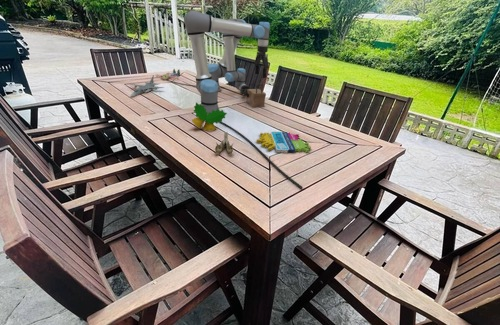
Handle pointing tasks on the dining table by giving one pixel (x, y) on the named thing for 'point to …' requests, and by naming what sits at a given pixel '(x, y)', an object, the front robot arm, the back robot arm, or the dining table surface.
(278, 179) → the dining table surface
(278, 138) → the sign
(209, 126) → the ornament
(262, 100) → the chest
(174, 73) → the toy
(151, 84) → the airplane
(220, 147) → the jawbone
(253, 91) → the lid
